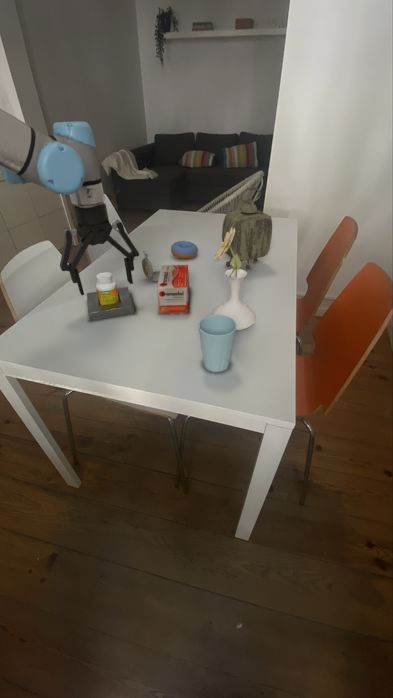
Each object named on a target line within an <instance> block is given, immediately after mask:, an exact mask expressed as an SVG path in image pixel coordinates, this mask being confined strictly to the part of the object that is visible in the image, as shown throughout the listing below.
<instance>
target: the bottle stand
mask: <svg viewBox="0 0 393 698" xmlns="http://www.w3.org/2000/svg"><path fill="white" fill-rule="evenodd" d="M117 291H118V296H119V302H120V303H114V304H108V305H102V306H100V302H99V297H98V293H97V291H89V292H86V299H87V314H88V317H89V321H90V322H93V321H101V320H105V319H111V318H117V317H123V316H128V315H134V314H135V307H134V303H133V300H132V297H131V294H130V290H129V287H128V286H123V287H117Z"/></svg>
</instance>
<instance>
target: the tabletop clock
mask: <svg viewBox="0 0 393 698" xmlns="http://www.w3.org/2000/svg"><path fill="white" fill-rule="evenodd" d="M249 191H257V192H258V194H259V195H258V196H257V197H256V198H254V199H253V198H252V197H251V196H249V197H248V199H247V200H246V199H244V198H243V195H244V194H245V192H249ZM261 195H262V192H261V190H260V189H259V188H257V187H254V186H252V187H251V186H250V187H246V188H245V189H243V190H242V191H241V193H240V196H239V199H240V200H241V202H242V203H244V205H242V207H241V209H237V210H234V211H230V212H228V213H226V214H225V216H224V218H223V222H222V223H223V224H222V229H221V230H222V231H221V242H224V239H225V236H226V233H227V232H228V233H229V232H230V229H231V227H232V230H233V229H234V228H235V234H234V237H233V240H232V242H231V244H230V247H231V248H232V250H233V253H234V255H236V254H237V255H238V257H239V259H240V261H241V262H246V265H245V269H246V270H250V269H251V264H250V261H253V262H257V261H258V259H262V258H264V257H266V256H268V254H269V253H270V248H271V243H272V237H273V219H272V216H271V215H270V214H267V213H265V212H263V211H261V210H259V209H258V207H257V205H256V204H254V203H255V202H257V201H258V200H259V199H260V198H261ZM228 235H229V234H228ZM225 255H227V256H228V257H229V258H230V259H229V260H228V261H226V262H225V266H226V267H230V266H231V260H232V258H233V255H232V252H231V250H230V248H229V249H228V250H227V252H226V253H225Z"/></svg>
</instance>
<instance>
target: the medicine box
mask: <svg viewBox="0 0 393 698" xmlns="http://www.w3.org/2000/svg"><path fill="white" fill-rule="evenodd" d="M159 271H160V275H159V280H158V282H157V286H156V292H157V299H158V306H159V307H158V309H159V314H176V313H177V314H178V313H179V314H181V313H184V314H185V313H189V306H190V305H189V303H190V302H189V301H190V273H189V264H170V265H169V264H166V265H165V264H163V265H161V266H160V270H159Z"/></svg>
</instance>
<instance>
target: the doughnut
mask: <svg viewBox="0 0 393 698" xmlns="http://www.w3.org/2000/svg"><path fill="white" fill-rule="evenodd" d="M198 251H199V248H198V246H197V245H196V244H195V243H194V242H191V241H186V240H179V241H175V242H174V243H172V244H171V247H170V253H171V254H172V255H173V256H174V257H175V258H178V259H184V260H185V259H186V260H187V259H193V258H195V257H196V256H197V255H198Z"/></svg>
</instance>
